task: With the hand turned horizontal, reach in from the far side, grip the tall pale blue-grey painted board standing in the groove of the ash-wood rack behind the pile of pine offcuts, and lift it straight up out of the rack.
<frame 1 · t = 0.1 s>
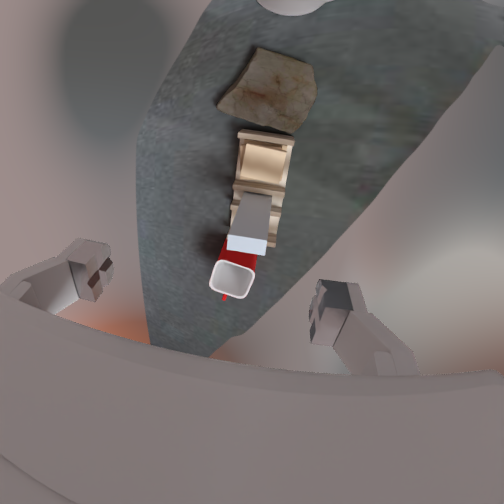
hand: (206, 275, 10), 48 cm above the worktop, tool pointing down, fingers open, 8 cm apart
brown flat slab: (269, 88, 48), on the worktop
tall board: (258, 195, 57), point 1 cm above the worktop, touching offcut rack
offcut stack: (263, 158, 53), point 1 cm above the worktop, touching offcut rack
offcut rack: (260, 184, 58), on the worktop
mug: (236, 258, 68), on the worktop
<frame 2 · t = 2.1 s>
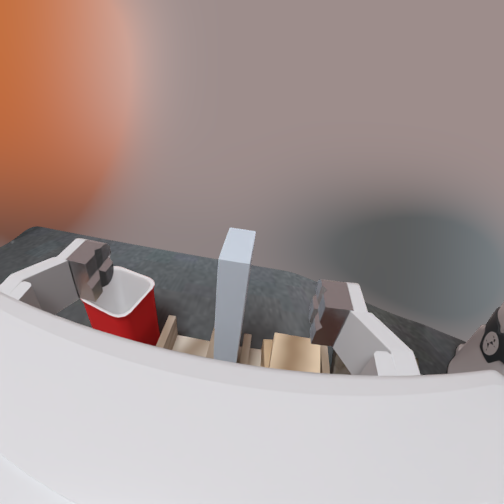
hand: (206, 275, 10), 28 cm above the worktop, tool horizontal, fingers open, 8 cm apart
tall board: (225, 372, 36), point 1 cm above the worktop, touching offcut rack
offcut stack: (284, 380, 35), point 1 cm above the worktop, touching offcut rack
offcut rack: (239, 380, 36), on the worktop
mug: (121, 338, 39), on the worktop
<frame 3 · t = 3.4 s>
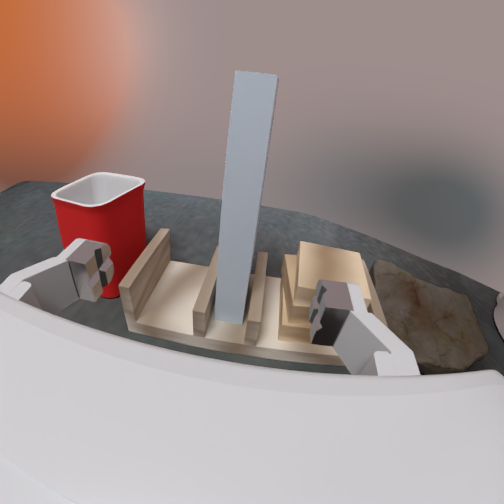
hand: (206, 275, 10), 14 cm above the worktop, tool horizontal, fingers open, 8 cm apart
brown flat slab: (417, 332, 29), on the worktop
tall board: (232, 302, 27), point 1 cm above the worktop, touching offcut rack
offcut stack: (314, 313, 27), point 1 cm above the worktop, touching offcut rack
offcut rack: (251, 316, 28), on the worktop
mug: (99, 269, 31), on the worktop
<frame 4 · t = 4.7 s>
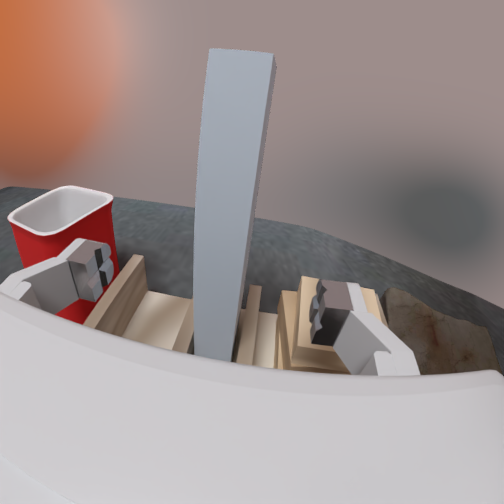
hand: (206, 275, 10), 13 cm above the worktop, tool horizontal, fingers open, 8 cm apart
brown flat slab: (431, 371, 23), on the worktop
tall board: (218, 347, 22), point 1 cm above the worktop, touching offcut rack
offcut stack: (316, 361, 22), point 1 cm above the worktop, touching offcut rack
offcut rack: (241, 362, 23), on the worktop
mug: (70, 296, 26), on the worktop
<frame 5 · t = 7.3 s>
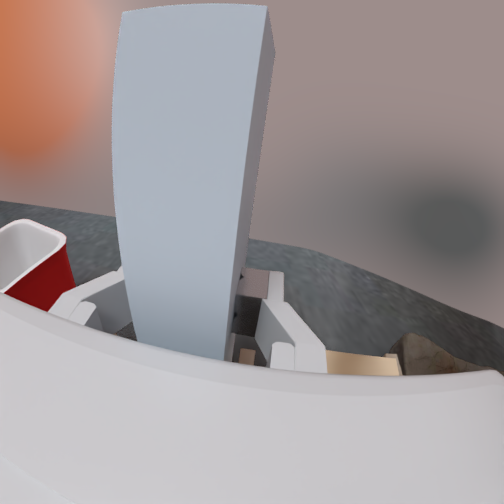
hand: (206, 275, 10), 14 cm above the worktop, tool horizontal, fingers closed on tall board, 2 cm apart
brown flat slab: (448, 426, 17), on the worktop
tall board: (202, 424, 16), point 2 cm above the worktop, touching gripper, offcut rack
offcut stack: (320, 437, 16), point 1 cm above the worktop, touching offcut rack
offcut rack: (231, 437, 17), on the worktop
mug: (38, 344, 20), on the worktop
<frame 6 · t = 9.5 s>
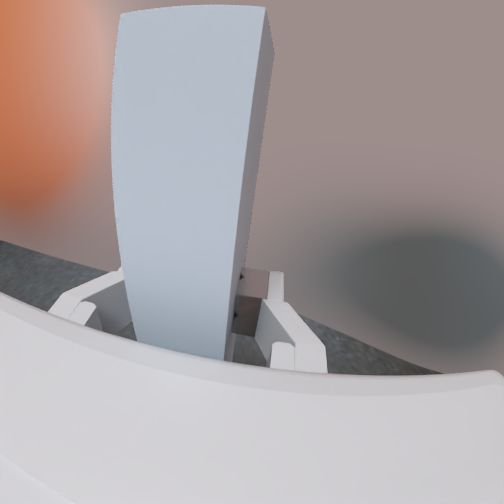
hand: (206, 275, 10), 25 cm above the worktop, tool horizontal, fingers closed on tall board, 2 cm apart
tall board: (203, 425, 16), point 13 cm above the worktop, touching gripper
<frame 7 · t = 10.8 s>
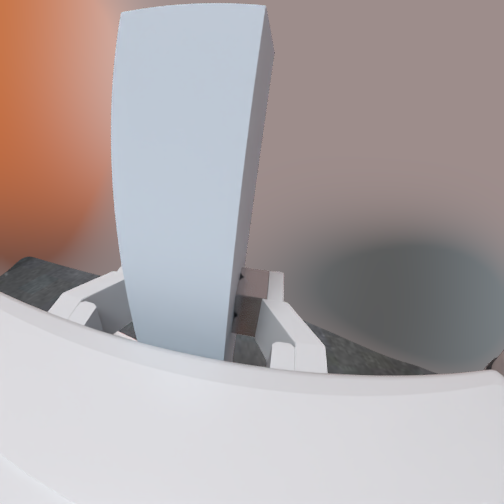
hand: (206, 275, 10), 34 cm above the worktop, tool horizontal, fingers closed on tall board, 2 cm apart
tall board: (203, 424, 16), point 22 cm above the worktop, touching gripper
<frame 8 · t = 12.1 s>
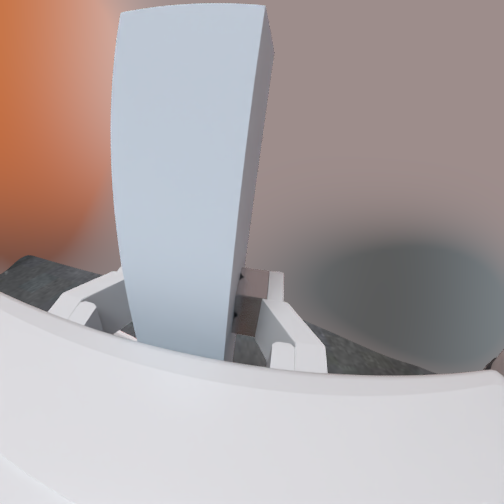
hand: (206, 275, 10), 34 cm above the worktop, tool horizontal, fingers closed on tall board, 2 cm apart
tall board: (203, 425, 16), point 22 cm above the worktop, touching gripper
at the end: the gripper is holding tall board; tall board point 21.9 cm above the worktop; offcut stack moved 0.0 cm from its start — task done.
